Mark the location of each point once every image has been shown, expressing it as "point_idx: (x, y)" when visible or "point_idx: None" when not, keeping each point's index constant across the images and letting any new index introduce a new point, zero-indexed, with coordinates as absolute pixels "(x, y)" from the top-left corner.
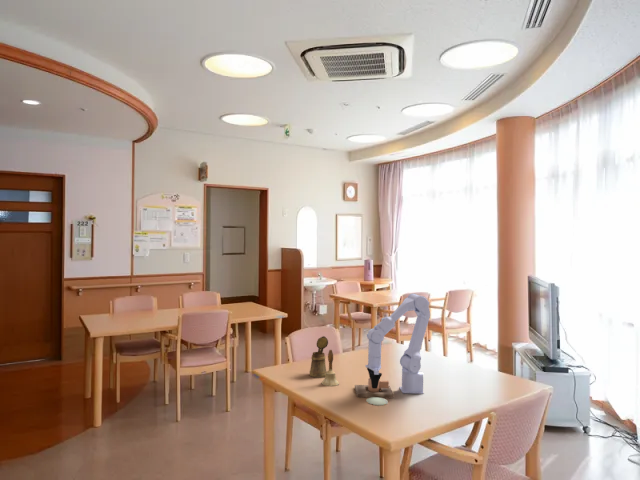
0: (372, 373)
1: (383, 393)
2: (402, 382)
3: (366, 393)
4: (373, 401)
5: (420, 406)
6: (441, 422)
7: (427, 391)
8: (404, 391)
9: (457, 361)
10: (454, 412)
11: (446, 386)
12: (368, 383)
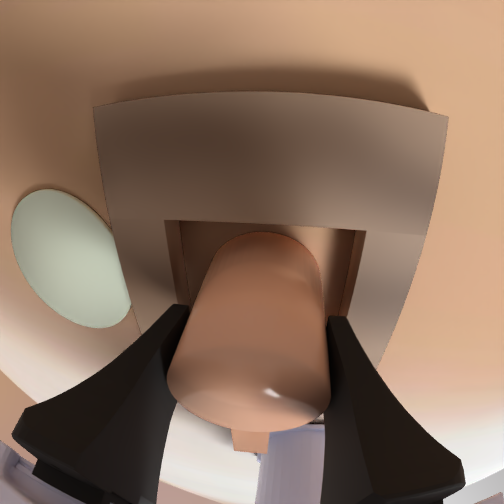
0: (28, 451)
1: None
2: (299, 470)
3: (117, 211)
4: (45, 240)
5: None
6: (19, 386)
7: None
8: (272, 432)
9: (494, 472)
10: None
11: None
12: (240, 301)
